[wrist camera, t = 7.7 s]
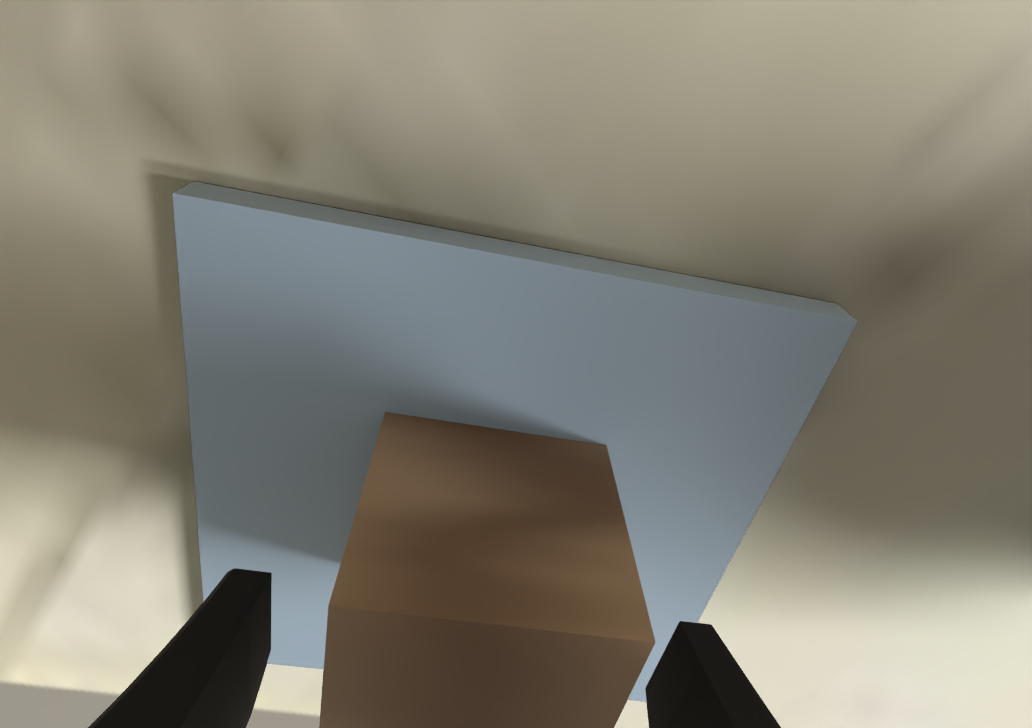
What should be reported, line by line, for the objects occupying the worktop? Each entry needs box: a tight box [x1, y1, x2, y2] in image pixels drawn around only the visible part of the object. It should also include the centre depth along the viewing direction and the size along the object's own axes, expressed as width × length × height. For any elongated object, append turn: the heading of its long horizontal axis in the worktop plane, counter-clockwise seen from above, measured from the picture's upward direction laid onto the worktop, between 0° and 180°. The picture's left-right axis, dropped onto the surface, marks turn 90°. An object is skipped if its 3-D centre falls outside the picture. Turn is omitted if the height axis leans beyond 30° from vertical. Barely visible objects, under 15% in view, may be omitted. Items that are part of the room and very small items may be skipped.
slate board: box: [172, 181, 858, 702], centre depth 14 cm, size 12×12×1 cm
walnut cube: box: [319, 412, 656, 728], centre depth 11 cm, size 4×4×4 cm
